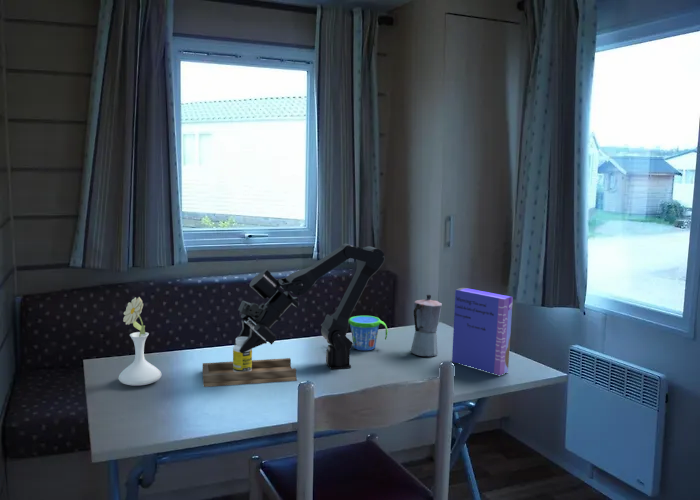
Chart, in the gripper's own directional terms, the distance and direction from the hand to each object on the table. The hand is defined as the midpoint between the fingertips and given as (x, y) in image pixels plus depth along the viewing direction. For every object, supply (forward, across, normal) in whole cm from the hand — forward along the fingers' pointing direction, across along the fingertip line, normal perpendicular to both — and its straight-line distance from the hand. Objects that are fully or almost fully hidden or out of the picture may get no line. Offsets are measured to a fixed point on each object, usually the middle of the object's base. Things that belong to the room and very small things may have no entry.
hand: (237, 349), depth 173 cm
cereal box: (-44, +18, +58) cm, 75 cm away
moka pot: (-38, +1, +51) cm, 64 cm away
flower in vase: (+24, -5, -13) cm, 28 cm away
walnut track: (+4, 0, +8) cm, 9 cm away
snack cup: (-27, -12, +40) cm, 49 cm away
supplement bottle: (+4, 0, +6) cm, 7 cm away
